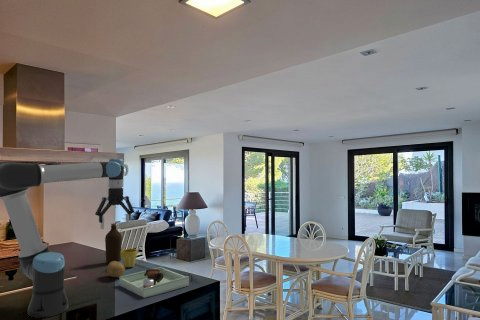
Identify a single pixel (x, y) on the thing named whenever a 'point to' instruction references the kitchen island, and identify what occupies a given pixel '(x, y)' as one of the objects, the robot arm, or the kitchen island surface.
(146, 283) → the tin
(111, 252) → the olive oil
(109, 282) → the kitchen island surface
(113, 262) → the potato
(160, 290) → the tray
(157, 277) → the pottery mug
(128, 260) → the plant pot
